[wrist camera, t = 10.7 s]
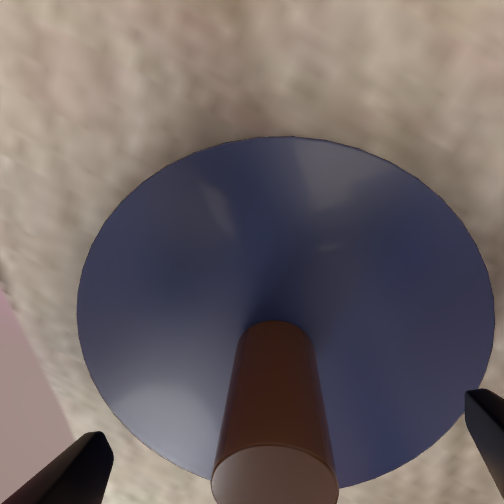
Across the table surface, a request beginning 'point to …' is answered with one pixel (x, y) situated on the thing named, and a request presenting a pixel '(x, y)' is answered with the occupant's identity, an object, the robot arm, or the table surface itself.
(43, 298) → the table surface
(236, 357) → the tin lid
